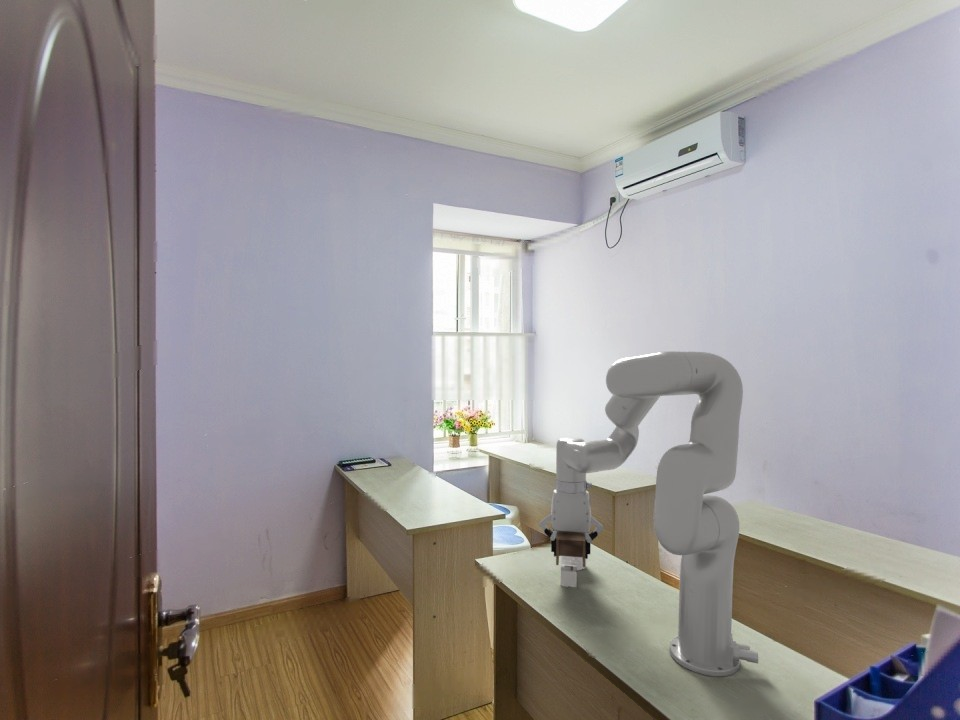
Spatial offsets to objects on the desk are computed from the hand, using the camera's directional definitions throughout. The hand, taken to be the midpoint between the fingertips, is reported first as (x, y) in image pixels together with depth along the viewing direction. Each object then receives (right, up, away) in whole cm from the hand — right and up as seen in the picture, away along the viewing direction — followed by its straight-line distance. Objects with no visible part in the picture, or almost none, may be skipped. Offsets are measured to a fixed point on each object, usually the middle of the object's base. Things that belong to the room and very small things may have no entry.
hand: (570, 555), depth 136 cm
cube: (0, -7, +1) cm, 8 cm away
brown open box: (0, -1, 0) cm, 1 cm away
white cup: (+3, -7, +12) cm, 14 cm away
